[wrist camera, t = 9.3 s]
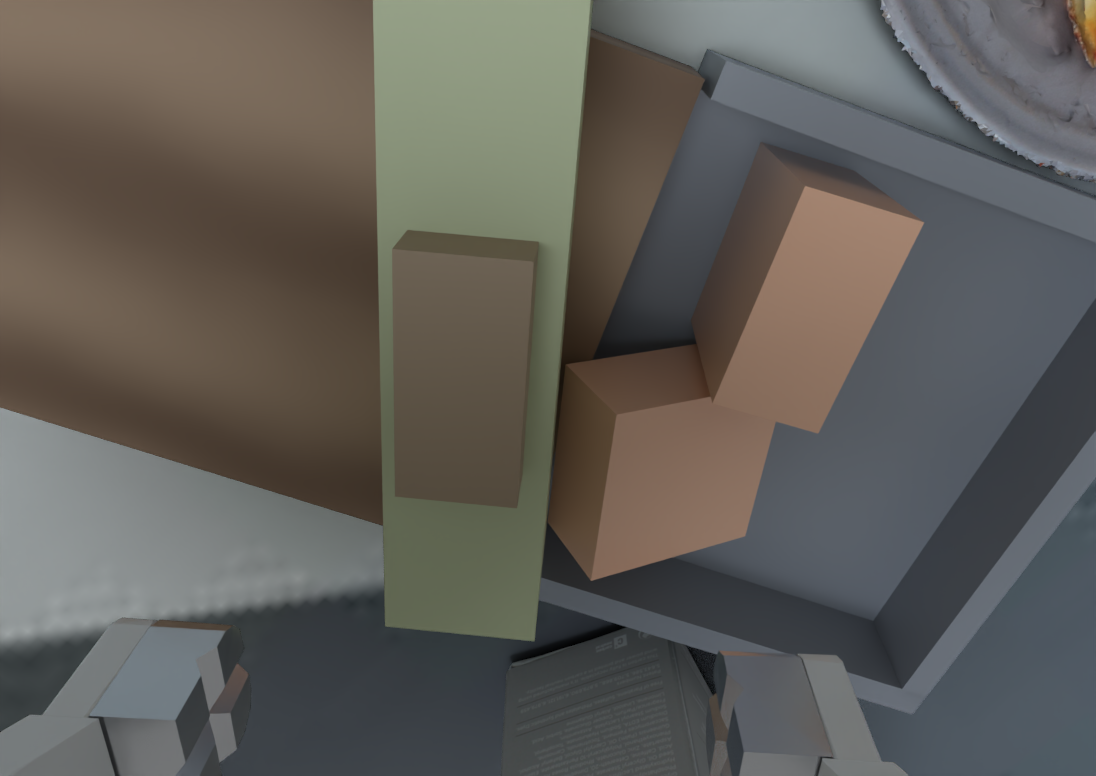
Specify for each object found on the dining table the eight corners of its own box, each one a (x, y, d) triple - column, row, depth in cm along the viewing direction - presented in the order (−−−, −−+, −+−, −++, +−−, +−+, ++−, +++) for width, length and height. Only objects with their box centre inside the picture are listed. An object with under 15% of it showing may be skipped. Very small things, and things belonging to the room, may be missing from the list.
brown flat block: (519, 505, 26) (509, 565, 24) (21, 348, 25) (-49, 392, 22) (691, 67, 20) (705, 79, 18) (46, -176, 19) (-47, -202, 16)
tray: (877, 632, 28) (912, 714, 25) (520, 519, 27) (509, 590, 24) (1164, 221, 21) (1260, 262, 18) (707, 48, 20) (726, 61, 17)
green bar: (546, 526, 23) (530, 680, 18) (423, 514, 23) (372, 664, 18) (596, -31, 17) (592, -37, 12) (427, -45, 17) (350, -57, 12)
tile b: (690, 320, 23) (775, 345, 23) (712, 403, 18) (818, 433, 18) (761, 141, 20) (854, 170, 21) (805, 185, 16) (924, 222, 16)
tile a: (693, 485, 25) (745, 536, 23) (547, 522, 23) (590, 581, 21) (725, 339, 22) (786, 382, 21) (565, 364, 20) (617, 414, 18)
